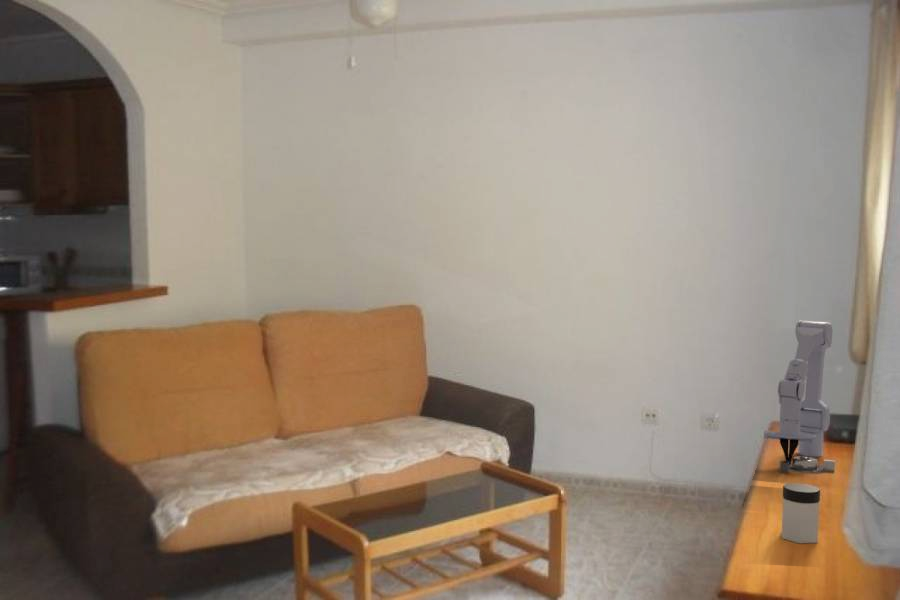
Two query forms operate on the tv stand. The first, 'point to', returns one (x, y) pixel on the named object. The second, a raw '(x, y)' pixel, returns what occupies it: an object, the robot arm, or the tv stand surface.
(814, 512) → the jar
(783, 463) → the stacked blocks
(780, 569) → the tv stand surface
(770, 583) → the tv stand surface
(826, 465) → the turntable
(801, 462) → the cover
